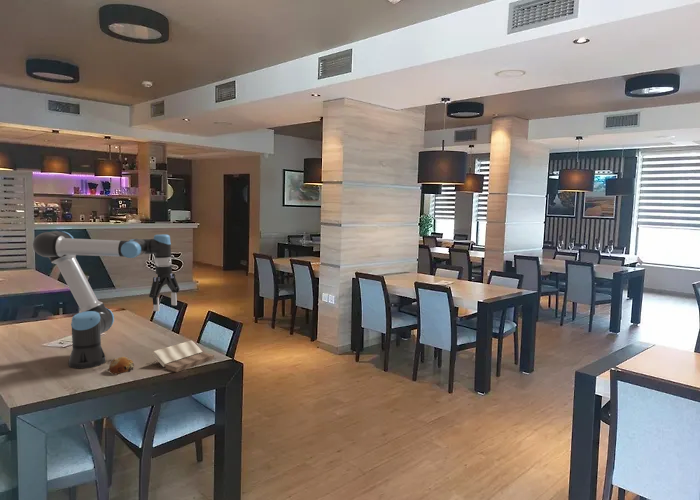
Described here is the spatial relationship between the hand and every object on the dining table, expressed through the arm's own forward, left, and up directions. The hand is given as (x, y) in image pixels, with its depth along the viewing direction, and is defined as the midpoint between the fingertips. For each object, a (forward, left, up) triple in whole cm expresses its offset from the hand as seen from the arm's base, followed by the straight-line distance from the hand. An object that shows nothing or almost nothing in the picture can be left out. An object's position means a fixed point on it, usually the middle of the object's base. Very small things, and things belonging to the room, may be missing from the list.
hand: (165, 308), depth 241 cm
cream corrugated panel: (-5, -15, -20) cm, 25 cm away
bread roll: (-27, -5, -23) cm, 36 cm away
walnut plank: (-5, -24, -23) cm, 34 cm away
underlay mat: (-5, -18, -23) cm, 29 cm away
